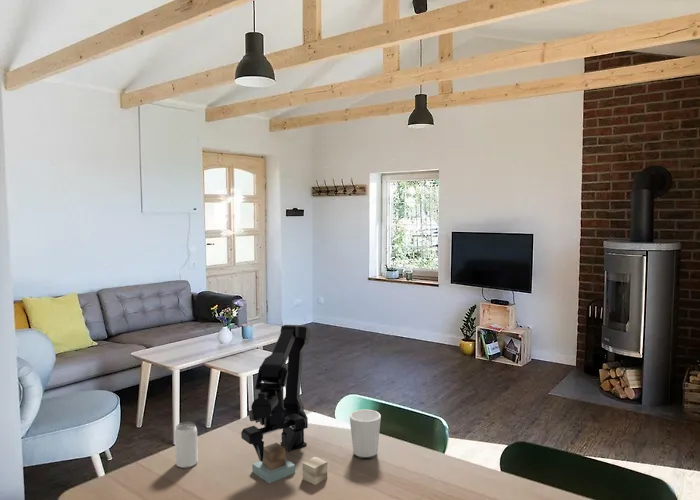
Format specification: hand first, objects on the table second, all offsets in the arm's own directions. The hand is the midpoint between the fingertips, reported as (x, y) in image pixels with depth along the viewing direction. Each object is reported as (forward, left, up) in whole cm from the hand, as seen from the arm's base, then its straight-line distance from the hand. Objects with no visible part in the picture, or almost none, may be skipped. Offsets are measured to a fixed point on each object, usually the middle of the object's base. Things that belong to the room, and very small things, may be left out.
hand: (274, 456), depth 158 cm
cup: (-28, +8, -5) cm, 30 cm away
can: (+18, -22, -5) cm, 29 cm away
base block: (0, 0, -6) cm, 6 cm away
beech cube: (-7, +10, -5) cm, 14 cm away
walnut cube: (0, 0, -2) cm, 3 cm away
